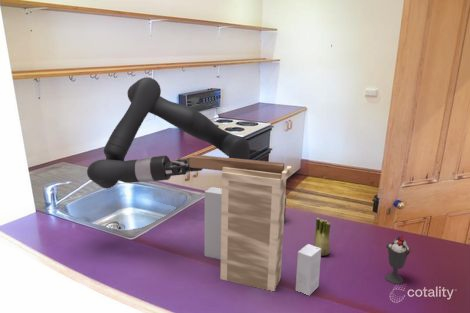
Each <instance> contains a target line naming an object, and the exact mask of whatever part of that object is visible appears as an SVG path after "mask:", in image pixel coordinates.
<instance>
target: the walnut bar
mask: <svg viewBox="0 0 470 313" xmlns="http://www.w3.org/2000/svg"><path fill="white" fill-rule="evenodd" d="M188 158H190V167H191V168H201V169H202V170H212V171H220V172H221V171H223V167H229V168H237V169H246V170H254V171H262V172H270V173H278V174H282V172H283V171H284V169H285V163H284V162H276V161H268V160H267V161H265V160H254V159H249V160H246V159H235V158H229V157H224V156H223V157H222V156H213V155H202V154H192V155H190V156H189V157H188Z"/></svg>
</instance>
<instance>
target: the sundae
mask: <svg viewBox="0 0 470 313" xmlns="http://www.w3.org/2000/svg"><path fill="white" fill-rule="evenodd" d="M385 248H386V249H387V250H388V263H389V266H390V267H391V268H392V269H393V270H392V273H387V274H386V275H385V276H384V278H385V280H386V281H388V282H390V283H391V284H394V285H395V284H397V285H401V284H403V283H404V279H403V278H402V276H400V275H398V271H399V270H400V269H402V268H404V267H405V264H406V260H407V258H408V255H409V254H411V252H412V249H411V248H410V247H409V245H407V241H406V240H405V239H404V234H402V235H401V236H398V237H397V238H395V239H394V241H392V242H388V243H386V245H385Z"/></svg>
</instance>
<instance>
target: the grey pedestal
mask: <svg viewBox="0 0 470 313" xmlns="http://www.w3.org/2000/svg"><path fill="white" fill-rule="evenodd" d="M221 203H222V187H221V188H220V187H214V186H211V187H209V188H208V189H206V190H204V257H207V258H211V259H217V260H220V261H221Z"/></svg>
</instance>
